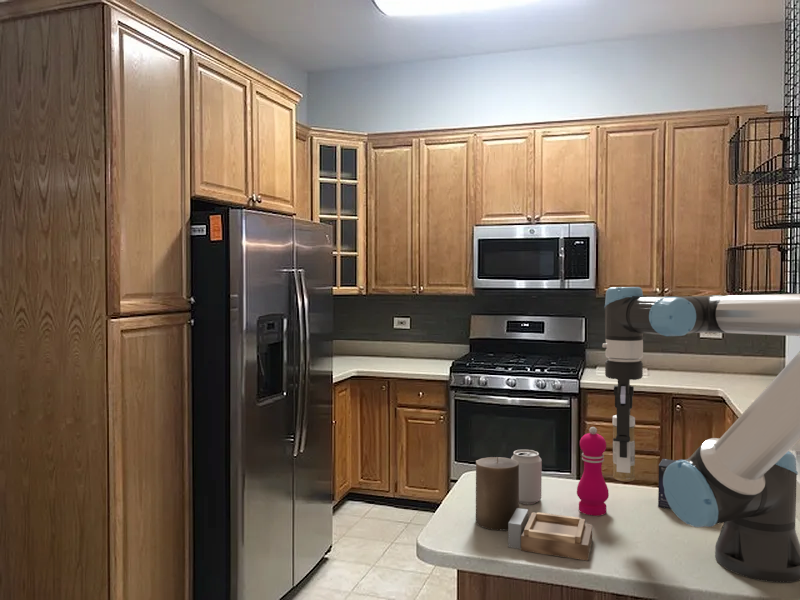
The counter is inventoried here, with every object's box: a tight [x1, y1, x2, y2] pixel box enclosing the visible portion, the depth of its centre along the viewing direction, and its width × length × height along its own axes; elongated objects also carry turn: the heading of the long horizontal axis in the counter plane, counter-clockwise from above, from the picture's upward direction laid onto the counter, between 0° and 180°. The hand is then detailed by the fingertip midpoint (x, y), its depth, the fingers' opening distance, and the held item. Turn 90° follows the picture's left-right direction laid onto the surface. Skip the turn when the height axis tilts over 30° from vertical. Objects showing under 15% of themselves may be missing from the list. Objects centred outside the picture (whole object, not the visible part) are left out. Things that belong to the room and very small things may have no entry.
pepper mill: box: [576, 426, 610, 517], centre depth 150 cm, size 7×7×20 cm
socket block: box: [520, 511, 594, 561], centre depth 131 cm, size 13×11×4 cm
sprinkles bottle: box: [611, 414, 636, 482], centre depth 136 cm, size 5×5×13 cm
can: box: [510, 449, 543, 505], centre depth 158 cm, size 8×8×12 cm
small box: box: [657, 458, 677, 510], centre depth 152 cm, size 11×6×10 cm, turn 60°
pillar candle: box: [475, 456, 520, 531], centre depth 143 cm, size 10×10×15 cm
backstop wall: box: [507, 507, 529, 550], centre depth 134 cm, size 2×9×5 cm, turn 159°
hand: (623, 468), depth 136 cm, fingers closed on sprinkles bottle, 4 cm apart
